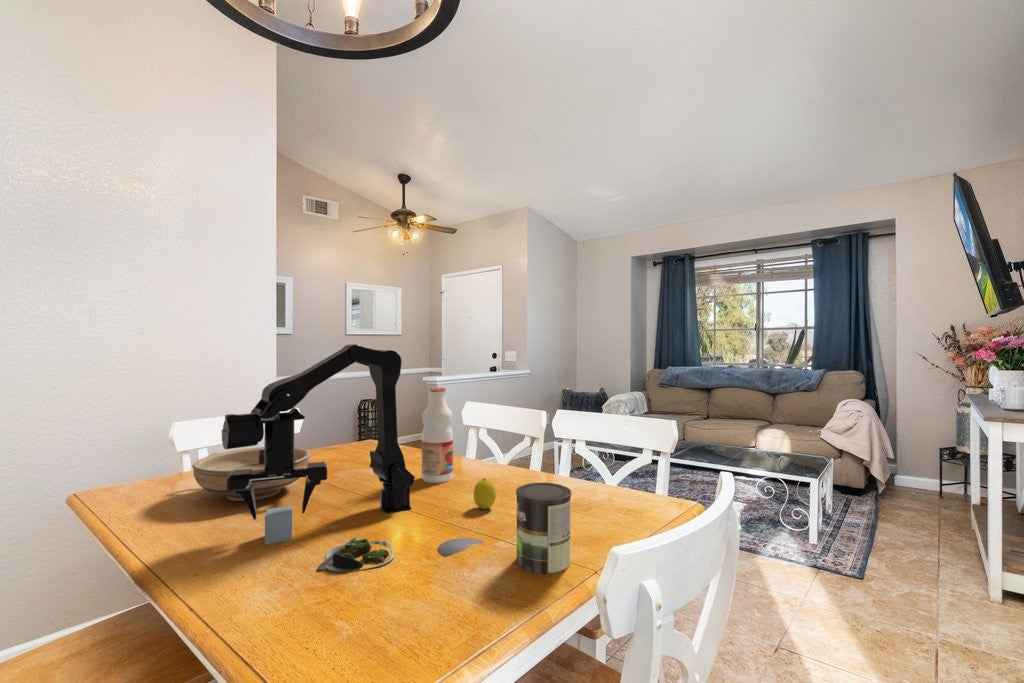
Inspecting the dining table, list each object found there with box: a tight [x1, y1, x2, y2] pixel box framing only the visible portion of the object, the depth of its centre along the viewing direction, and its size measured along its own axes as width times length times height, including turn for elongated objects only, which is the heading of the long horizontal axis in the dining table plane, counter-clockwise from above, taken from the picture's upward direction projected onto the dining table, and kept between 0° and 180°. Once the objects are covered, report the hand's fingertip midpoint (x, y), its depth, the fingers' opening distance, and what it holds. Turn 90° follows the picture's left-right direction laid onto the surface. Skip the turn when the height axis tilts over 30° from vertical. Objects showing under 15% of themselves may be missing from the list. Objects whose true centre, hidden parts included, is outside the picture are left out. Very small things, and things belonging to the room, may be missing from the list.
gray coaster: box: [437, 537, 485, 558], centre depth 95 cm, size 10×10×1 cm
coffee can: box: [515, 482, 572, 575], centre depth 89 cm, size 10×10×14 cm
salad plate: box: [317, 537, 395, 574], centre depth 92 cm, size 15×14×4 cm
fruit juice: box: [421, 386, 454, 484], centre depth 145 cm, size 9×9×28 cm
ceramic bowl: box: [192, 446, 311, 502], centre depth 132 cm, size 37×29×10 cm
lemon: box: [473, 477, 497, 510], centre depth 118 cm, size 6×6×8 cm
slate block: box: [264, 505, 293, 545], centre depth 101 cm, size 5×5×6 cm
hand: (279, 515), depth 101 cm, fingers open, 9 cm apart
